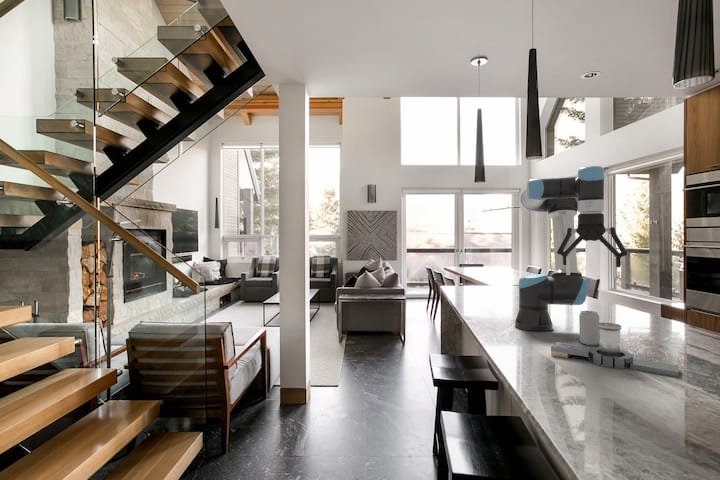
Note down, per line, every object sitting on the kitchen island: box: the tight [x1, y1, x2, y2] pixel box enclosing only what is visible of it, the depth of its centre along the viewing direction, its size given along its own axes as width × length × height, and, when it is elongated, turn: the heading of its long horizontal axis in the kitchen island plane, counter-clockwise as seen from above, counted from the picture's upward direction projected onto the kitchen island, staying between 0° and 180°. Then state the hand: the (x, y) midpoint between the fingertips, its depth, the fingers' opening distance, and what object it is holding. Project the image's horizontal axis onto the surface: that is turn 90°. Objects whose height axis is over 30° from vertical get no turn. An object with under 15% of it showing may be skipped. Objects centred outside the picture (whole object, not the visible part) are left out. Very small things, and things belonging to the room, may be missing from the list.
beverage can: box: [578, 310, 600, 346], centre depth 142 cm, size 6×6×12 cm
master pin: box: [598, 322, 622, 357], centre depth 121 cm, size 6×6×12 cm
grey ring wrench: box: [550, 341, 679, 378], centre depth 121 cm, size 33×12×3 cm, turn 50°
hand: (590, 276), depth 129 cm, fingers open, 13 cm apart
